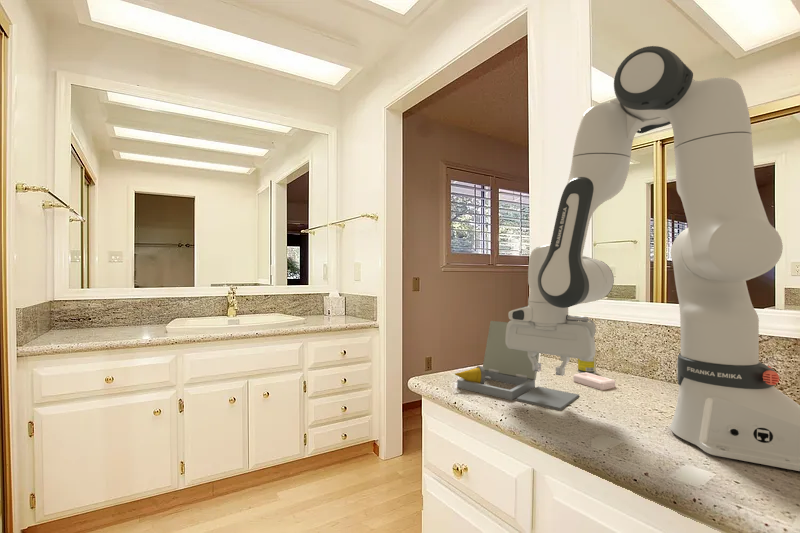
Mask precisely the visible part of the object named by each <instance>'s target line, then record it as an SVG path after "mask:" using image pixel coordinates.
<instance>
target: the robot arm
mask: <svg viewBox="0 0 800 533" xmlns="http://www.w3.org/2000/svg"><path fill="white" fill-rule="evenodd" d="M693 78H694V73H693V71H692V70H691V68H689V66H687V65H686V64H685V63H684V62H683V60H682V59H681V58H680V57H679V56H678V55H677V54H676V53H675V52H672V51H671V49H668V48H665V47H663V46H659V45H652V46H651V45H650V46H649V45H648V46H644V47H641V48H638V49H637V50H634V51H633V52H631V53H630V54H628V55H627V56H626V57H625V58H624V59H623V60H622V61H621V63H620V64H619V66H618V67H617V69H616V72H615V74H614V78H613V90H614V95H615V98H614V99H612V100H610V101H609V102H601V103H598V104H595V105H592V106H591V107H590V108H589V107H588V109H587V110H585V112H584V113H583V115H582V117H581V119H580V122H579V126H578V130H577V132H576V135H575V140H574V146H573V152H572V158H571V166H570V170H569V176H568V180H567V183H566V185H565V187H564V189H563V191H562V194H561V198H560V200H559V205H558V208H557V212H556V217H555V222H554V227H553V231H552V234H551V242H550V244H544V245H541V246H540V245H539V246H537V247H535V248H534V249H533V250H532V251H531V252H530V255H529V259H528V260H529V261H528V267H527V268H528V271H527V277H528V278H527V283H528V286H529V294H528V295H529V296H528V301H527V304H528V305H527V306H521V307H519V308H515V309H512V310H510V311H508V313H507V314H508V316H507V317H508V319H509V321H508V324H507V327H506V339H505V342H506V345H507V347H508V348H509V349H514V350H521V351H528V358H529V359H530V361H531V363H532V370H533V371H537V372H539V373H540V372H541V371H542V363H541V362H539V361H538V362H537V360H536V357H535V355H537V353H539V354H544V355H551V356H557V357H559V359H560V362H561V364H560V365H557V366H555V375H556V376H561V377H563V376H564V375H565V373H566V372H565V371H566V369H565V368H566V366H567V365H568V364H569V362H570V361H571V359H577V360H578V359H585V360H589V359H591V358H593V357H594V356H595V354H596V351H597V349H596V348H597V347H596V340H595V335H596V323H595V322H594V320H592V319H590V318H589V317H588V316H577V315H570V314H569V308H570V307H575V306H577V305H579V304H588V303H592V302H596V301H597V302H598V301H600V300H602V299H604V298H605V297H607V296H608V295H609V294H610V293H611V291H612V289H613V288H614V280H615V279H614V277H615V276H614V274H613V271H612V270H611V268H610V266H609V265H608V264H606V263H605V262H604V261H602V260H599V259H596V258H593V257H588V256H585V255H583V253H584V249H585V244H586V239H587V235H588V230H589V225H590V221H591V220H592V219H591V218H592V216H593V215H594V212H595V211H596V210H597V209H598V208H599V207H600V206H601V205H603V204H604V203H605V202H607V201H609V200H611V199H612V198H614V197H616V196H617V195H618V194H619V193H620V192H621V191H622V190H623V189H624V187H625V184H626V181H627V178H628V176H629V175H628V174H629V170H630V165H631V162H630V161H631V156H632V147H633V142H634V138H635V136H636V134H644V133H647V132H650V131H653V130H655V129H656V130H657V129H658V128H663V127H666V126H671V128H672V132H673V133H672V134H673V148H674V166H675V179H676V182H675V183H676V184H675V185H676V192H677V194H678V196H679V197H680V200H681V202H682V207H683V209H684V210H683V211H684V213H685V217H686V223H687V227H686V228H685V229H684V230H682V231H681V232H679V234H678V235H676V238H675V239H674V240H673V242H672V245H671V248H670V257H671V260H672V265H673V274H674V282H675V288H676V289H675V290H676V295H677V299H678V300H677V301H678V307H679V318H680V319H679V320H680V326H679V328H680V332H679V333H680V338H679V339H680V353H678V355H677V360H676V380H677V384H678V393H677V394H678V395H677V401H676V406H675V409H674V410H675V411H674V414H673V417H672V421H671V423H670V424H669V428H670V430H671V432H672V433H673V434H674V435H676V436H677V437H679V438H681V439H683V440H684V441H686V442H689V443H691V444H693V445H695V446H697V447H698V448H700V449H701V450H702V451H703V452H705V453H706V454H709V455H712V456H716V457H722V458H727V459H732V460H739V461H744V462H749V463H754V464H761V465H765V466H770V467H776V468H781V469H787V470H790V471H791V470H793V471H798V472H800V404H799V403H797V402H796V401H795V400H793V399H792V398H791V397H789V396H788V395H786V394H785V393H783V392H782V391H781V390H780V389H778V388H776V387H775V386H776V385H777V384H778V383H780V376H779V373H778V372H776V371H775V369H774V368H772V366H770V365H768V366H767V364H765V363H763V362H760V356H759V355H760V354H759V353H760V351H759V350H760V342H759V340H760V339H759V338H760V337H759V336H760V330H759V329H760V328H759V325H760V324H759V322H760V320H759V319H760V318H759V314H758V312H757V311H756V310H755V308H754V305H753V304H752V300H751V296H750V292H749V290H748V289H749V288H748V285H747V281H749V280H751V279H755V278H757V277H760V276H762V275H764V274H766V273H768V272H769V271H770V270H772V269H773V268H774V267H775V266H777V264H778V262H779V261H780V259H781V257H782V254H783V248H784V247H783V246H784V244H783V240H782V237H781V235H780V234H779V232H778V231H777V229H776V228H775V227H774V226H773V225H772V224H771V223H770V221H769V219H768V216H767V213H766V210H765V207H764V204H763V201H762V199H761V196H760V193H759V189H758V186H757V181H756V175H755V174H756V173H755V166H754V165H755V164H754V163H755V162H754V149H753V148H754V147H753V135H752V125H751V117H750V112H749V107H748V103H747V101H746V100H747V99H746V96H745V94H744V91H743V87H742V86H741V84H740V83H739V82H737V81H736V80H735V79H733V78H728V77H713V78H707V79H704V80H703V79H702V80H695V79H693Z"/></svg>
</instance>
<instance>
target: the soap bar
mask: <svg viewBox="0 0 800 533" xmlns="http://www.w3.org/2000/svg"><path fill="white" fill-rule="evenodd" d="M572 380H573V382H574V383H579V384H580V385H583V386H584V385H585V386H587V387H590V388H594V389H598V390H601V391H605V390H609V389H613V388H616V380H614V379H611V378H608V377H605V376H601V375H597V374H591V373H587V372H585V373H580V372H578V373H574V374H573V377H572Z"/></svg>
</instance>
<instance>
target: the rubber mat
mask: <svg viewBox="0 0 800 533" xmlns="http://www.w3.org/2000/svg"><path fill="white" fill-rule="evenodd" d="M579 397H580V394H578V393H573V392H568V391H563V390H558V389H552V388H547V387H543V386H535V388H533V389H531V390H529V391H527V392H526V393H524V394H522V395H520V396H519V397H517V398H516V401H517V402H520V403H525V404H529V405H533V406H539V407H542V408H546V409H550V410H551V409H552V410H556V411H562V410H564V409H565V408H566V407H567V406H569V405H570V404H571V403H573V402H574V401H576V399H578V398H579Z"/></svg>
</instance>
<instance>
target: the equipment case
mask: <svg viewBox="0 0 800 533" xmlns="http://www.w3.org/2000/svg"><path fill="white" fill-rule="evenodd" d="M508 322H509V321H508ZM508 322H506V321H496V320H495V321H494V320H490V323H489V328H488V332H487V333H488V335H487V340H486V345H485V350H484V351H485V352H484V358H483V364H482V367H484V370H485V376H489V377H491V379H489V380H491V381H497V382H500V381H501V382H500V383H506V384H510V383H511V385H516V386H514V387H512V388H511V389H507V388H504V387H499V386H494V385H489V384H485V383H484V384H480V383H476V382H471V381H466V380H464V379H463V378H461V377H460V378H459V379H456V380H457V381H456V382H457V383H456V384H457V386H456V387H457V389H462V390H465V391H470V392H475V393H478V392H479V394H482V395H483V394H484V395H487V396H491V395H492V396H493V397H495V396H496V397H497V398H500V397H501V399H504V398H505V399H504V400H508V401H509V400H510V401H514V400H515V399H517V398H518V397H520V396H521V395H523V394H525V393H527V392H529V391H530V390H532V389H534V388H536V380H537V379H536V378H537V372H538V371H533V370H532V363H531V361H530V359H529V358H528V351H521V350H514V349H509V348H508V347H507V345H506V342H505V339H506V327H507V324H508ZM535 357H536V360H537V362H538V363H539V358H540V353H537V355H535Z"/></svg>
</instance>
